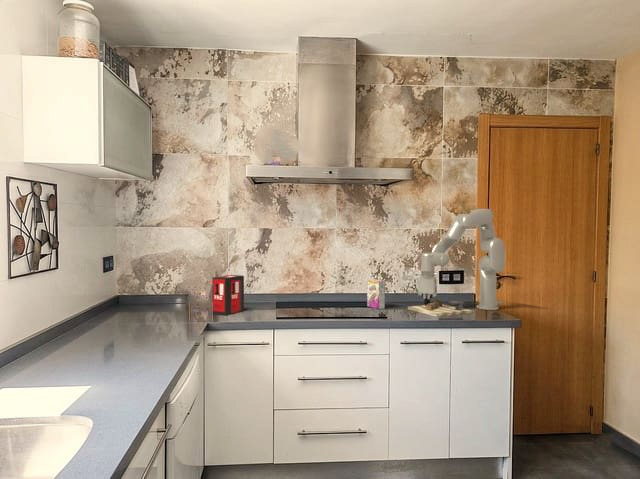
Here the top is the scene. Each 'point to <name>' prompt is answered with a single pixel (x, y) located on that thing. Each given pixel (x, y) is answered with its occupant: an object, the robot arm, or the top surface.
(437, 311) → the birch board
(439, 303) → the walnut link
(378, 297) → the candy bar box
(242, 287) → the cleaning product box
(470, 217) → the robot arm
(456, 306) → the block
